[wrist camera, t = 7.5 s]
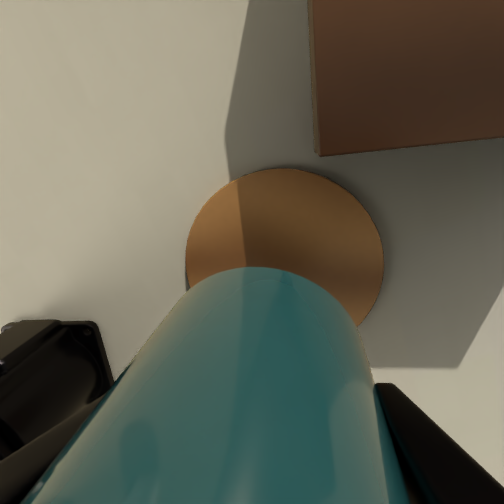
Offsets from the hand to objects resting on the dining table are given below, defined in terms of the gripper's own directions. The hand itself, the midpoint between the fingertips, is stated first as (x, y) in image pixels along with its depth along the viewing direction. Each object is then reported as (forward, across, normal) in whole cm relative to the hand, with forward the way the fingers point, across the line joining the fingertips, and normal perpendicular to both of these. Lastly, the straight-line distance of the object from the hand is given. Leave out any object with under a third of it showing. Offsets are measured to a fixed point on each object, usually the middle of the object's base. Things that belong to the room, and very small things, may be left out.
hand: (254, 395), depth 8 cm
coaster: (+9, 0, 0) cm, 9 cm away
